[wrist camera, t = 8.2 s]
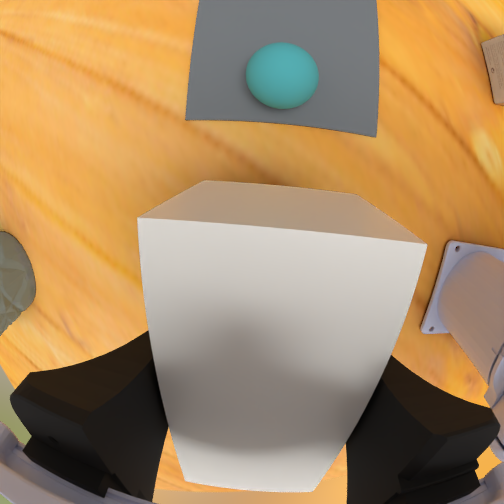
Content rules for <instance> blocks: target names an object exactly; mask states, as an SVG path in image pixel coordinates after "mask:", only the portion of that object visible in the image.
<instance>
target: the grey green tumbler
mask: <svg viewBox="0 0 504 504" xmlns="http://www.w3.org/2000/svg"><path fill="white" fill-rule="evenodd" d="M35 293H36V283H35V276H34V272H33V269H32V266H31V262H30V260H29V258H28V256H27V254H26V252H25V250H24V249H23V246H22V245H21V244H20V243H19V242H18V240H16V238H15V237H13V236H12V235H10V234H9V233H6V232H0V336H1V335H2V333H3V332H4V331H5V330H6V329H7V327H8V326H9V325H11V324H12V322H14V321H15V320H16V319H17V318H18V317H19V316H20V314H21V312H22V311H25V310H26V309H27V308H28V307H29V306H30V304H31V303H32V302H33V300H34V297H35Z"/></svg>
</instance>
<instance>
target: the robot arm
mask: <svg viewBox="0 0 504 504" xmlns="http://www.w3.org/2000/svg"><path fill="white" fill-rule="evenodd" d="M457 246H458V248H457V249H456V250H455V248H456V247H457ZM430 327H432V328H430ZM420 329H421V332H422V333H423V334H436V333H450V334H451V335H452V336H453V338H454V339H455V340H456V342H457V343H458V344H459V345H460V347H461V348H462V349H463V351H464V352H465V353H466V355H467V356H468V358H469V359H470V360H471V362H472V363H473V364H474V366H475V367H476V369H477V370H478V372H479V373H480V374H481V376H482V377H483V379H484V380H485V382H486V383H487V385H488V386H489V388H488V390H487V392H486V393H485V395H484V398H485V399H486V401H487V403H488V404H489V406H490V408H488V407H484V406H481V405H477V404H474V403H471V402H468V401H465V400H463V399H460V398H458V397H455V396H453V395H451V394H449V393H447V392H445V391H443V390H441V389H439V388H437V387H435V386H433V385H432V384H430V383H428V382H427V381H425V380H423V379H422V378H421V377H419V376H418V375H416V374H415V373H413V372H412V371H410V370H409V369H408V368H406V367H405V366H404V365H403V364H401V363H400V362H399V361H398V360H396V359H395V358H394V357H393V356H392V355H391V356H390V358H389V360H388V362H387V365H386V367H385V369H384V371H383V374H382V376H381V378H380V380H379V382H378V384H377V386H376V388H375V390H374V392H373V394H372V396H371V398H370V400H369V402H368V404H367V406H366V408H365V410H364V412H363V413H362V415H361V417H360V419H359V421H358V423H357V424H356V426H355V428H354V430H353V431H352V433H351V435H350V436H349V438H348V440H347V441H346V451H347V504H504V249H502V248H496V247H490V246H484V245H478V244H472V243H466V242H460V241H453V240H451V241H449V242H448V243H447V245H446V248H445V252H444V256H443V260H442V264H441V267H440V271H439V274H438V278H437V281H436V284H435V288H434V291H433V294H432V297H431V300H430V303H429V306H428V309H427V312H426V314H425V317H424V320H423V322H422V325H421V328H420ZM10 401H11V405H12V407H13V409H14V411H15V413H16V414H17V416H18V417H19V419H20V420H21V422H22V423H23V425H24V426H25V427H26V429H27V430H28V431H29V433H30V434H31V435H32V437H31V438H30V440H29V441H28V443H27V444H26V445H24V444H23V443H21V442H20V441H18V438H17V437H16V436H15V434H14V433H13V432H12V431H11V430H10V429H9V428H8V427H7V426H6V425H5V424H4V423H2V422H1V421H0V494H1V495H3V496H4V497H5V498H6V499H8V500H9V501H10V502H11V503H13V504H156V503H153V502H152V499H153V493H154V487H155V482H156V476H157V472H158V467H159V462H160V458H161V454H162V449H163V445H164V441H165V438H166V434H167V430H168V427H169V425H168V421H167V418H166V414H165V410H164V405H163V401H162V397H161V393H160V388H159V383H158V379H157V374H156V369H155V364H154V359H153V353H152V347H151V342H150V336H149V330H148V331H147V332H145V333H143V334H142V335H140V336H139V337H137V338H135V339H134V340H132V341H130V342H129V343H127V344H125V345H123V346H121V347H119V348H117V349H115V350H113V351H111V352H109V353H107V354H104V355H102V356H99V357H96V358H94V359H91V360H88V361H85V362H82V363H79V364H75V365H72V366H68V367H63V368H59V369H53V370H46V371H39V372H30V373H29V374H28V375H27V377H26V378H25V379H24V380H23V381H22V382H21V384H20V385H19V386H18V387H17V388H16V389H15V391H14V392H13V393H12V394H11V396H10ZM488 446H490V448H491V450H492V452H493V453H494V454H495V456H496V457H497V458H498V459H499V460H501V461H502V463H500V464H499V465H497V466H496V467H494V468H493V469H492V470H491V471H489V473H487V475H485V477H484V478H482V479H479V480H478V477H477V475H476V472H475V470H476V469H477V468H478V467H479V464H478V462H477V458H478V457H479V456H480V455H481V454H482V453H483V452H484V451H485V450H486V449H487V448H488Z"/></svg>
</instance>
